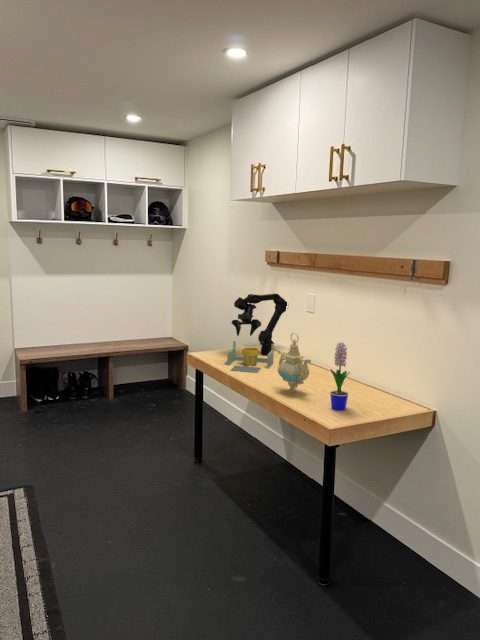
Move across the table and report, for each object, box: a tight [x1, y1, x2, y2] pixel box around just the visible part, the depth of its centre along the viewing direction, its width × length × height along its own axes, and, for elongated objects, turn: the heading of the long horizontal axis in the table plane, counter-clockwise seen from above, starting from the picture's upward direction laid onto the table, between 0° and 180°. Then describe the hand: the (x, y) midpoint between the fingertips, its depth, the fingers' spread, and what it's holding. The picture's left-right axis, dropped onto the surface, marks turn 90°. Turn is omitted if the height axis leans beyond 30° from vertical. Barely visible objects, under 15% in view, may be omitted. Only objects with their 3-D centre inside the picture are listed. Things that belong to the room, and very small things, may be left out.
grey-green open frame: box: [227, 340, 275, 369], centre depth 302 cm, size 15×25×12 cm, turn 77°
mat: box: [230, 365, 262, 374], centre depth 289 cm, size 12×16×1 cm
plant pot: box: [241, 346, 260, 367], centre depth 301 cm, size 10×10×10 cm
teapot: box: [277, 332, 312, 393], centre depth 244 cm, size 24×12×30 cm, turn 32°
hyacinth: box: [329, 342, 351, 411], centre depth 220 cm, size 9×10×30 cm
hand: (244, 335), depth 311 cm, fingers open, 9 cm apart
